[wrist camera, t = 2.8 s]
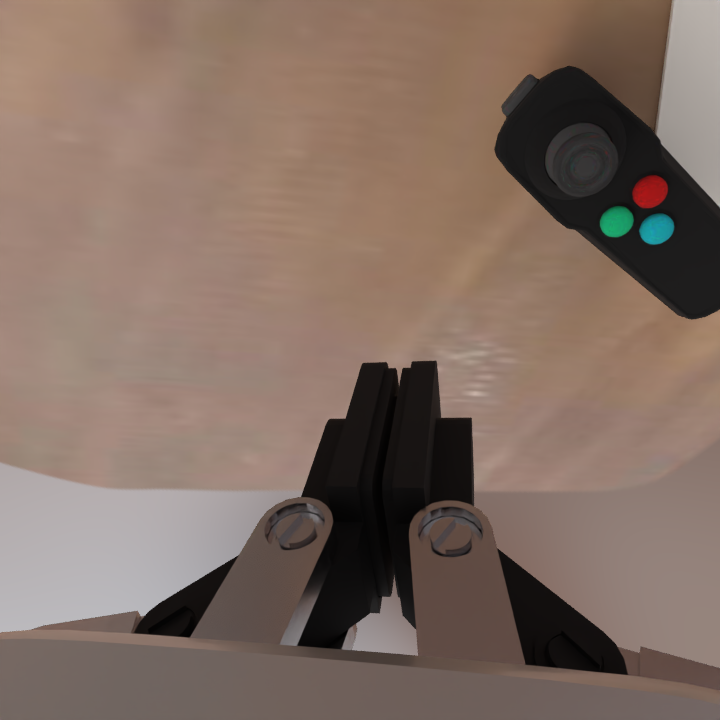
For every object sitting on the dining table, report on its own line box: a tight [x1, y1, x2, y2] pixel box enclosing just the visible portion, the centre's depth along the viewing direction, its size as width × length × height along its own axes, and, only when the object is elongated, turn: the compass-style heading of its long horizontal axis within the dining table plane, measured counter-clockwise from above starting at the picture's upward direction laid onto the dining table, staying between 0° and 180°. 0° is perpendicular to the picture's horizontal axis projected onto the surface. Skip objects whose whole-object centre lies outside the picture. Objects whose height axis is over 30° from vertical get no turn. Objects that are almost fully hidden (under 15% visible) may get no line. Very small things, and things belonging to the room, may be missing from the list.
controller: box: [495, 66, 720, 319], centre depth 23 cm, size 4×12×10 cm, turn 53°
